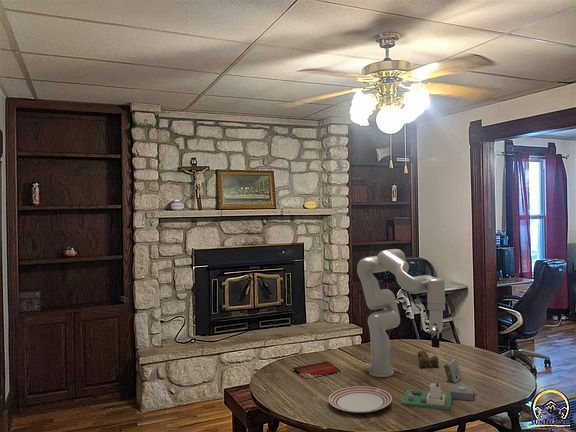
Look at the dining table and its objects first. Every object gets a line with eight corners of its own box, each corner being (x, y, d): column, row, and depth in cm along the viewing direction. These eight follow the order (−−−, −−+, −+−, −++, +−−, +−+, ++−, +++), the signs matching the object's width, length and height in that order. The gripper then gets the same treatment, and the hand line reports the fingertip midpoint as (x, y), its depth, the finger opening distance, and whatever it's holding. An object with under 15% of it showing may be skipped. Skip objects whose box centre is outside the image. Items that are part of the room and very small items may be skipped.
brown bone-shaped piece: (430, 359, 272) (441, 370, 252) (413, 360, 272) (422, 371, 252) (430, 348, 272) (440, 358, 252) (412, 350, 272) (421, 360, 252)
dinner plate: (349, 423, 195) (348, 415, 195) (317, 400, 221) (317, 393, 220) (405, 409, 206) (405, 401, 206) (369, 388, 231) (369, 381, 231)
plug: (430, 402, 209) (429, 384, 209) (431, 399, 213) (430, 381, 213) (440, 403, 208) (439, 385, 207) (441, 400, 211) (440, 382, 211)
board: (401, 404, 211) (400, 396, 211) (406, 391, 226) (406, 384, 225) (450, 410, 203) (449, 401, 203) (452, 395, 218) (452, 388, 218)
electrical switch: (455, 383, 233) (452, 363, 233) (445, 382, 236) (442, 363, 236) (462, 377, 240) (459, 358, 240) (452, 376, 243) (449, 358, 244)
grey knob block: (450, 398, 215) (450, 390, 215) (452, 391, 223) (451, 383, 223) (472, 400, 211) (472, 392, 211) (473, 393, 220) (473, 385, 220)
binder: (292, 367, 262) (327, 360, 270) (293, 371, 262) (327, 365, 270) (305, 377, 247) (342, 370, 256) (306, 381, 247) (342, 374, 256)
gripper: (430, 301, 227) (431, 337, 227) (424, 309, 211) (425, 348, 212) (447, 302, 224) (448, 339, 224) (442, 310, 208) (443, 350, 209)
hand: (437, 344), depth 218 cm, fingers open, 9 cm apart
